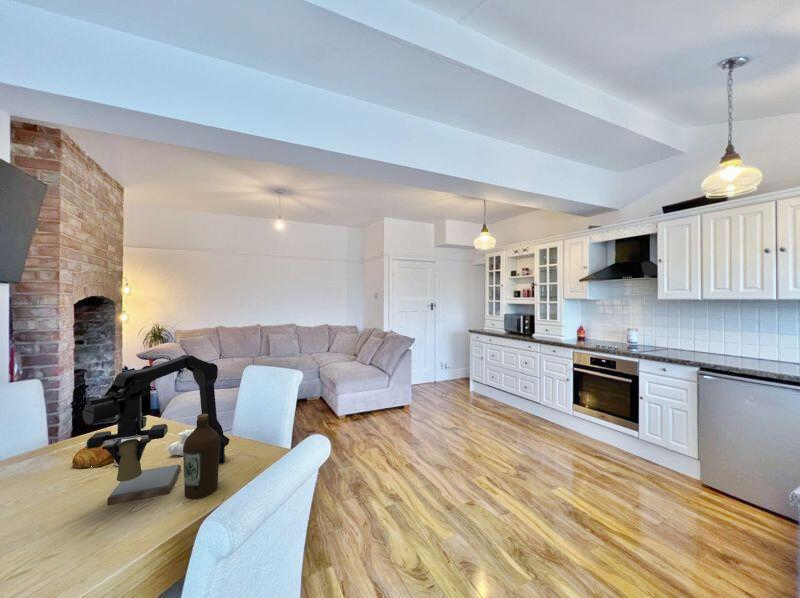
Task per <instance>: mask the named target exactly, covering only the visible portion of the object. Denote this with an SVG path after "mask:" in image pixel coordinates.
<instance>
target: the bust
mask: <svg viewBox="0 0 800 598" xmlns="http://www.w3.org/2000/svg"><path fill="white" fill-rule="evenodd" d="M195 429H196V428H194V429H189V428H188V429H184V430H183V431H182V432H178V434H177V435H178V436H180V437H181V440H179V441H175V442H173V443H171V444H170V445H169V446H168V449H167V451H168V453H169V455H171V456H182V457H183V446H184V443H185V440H186V439H187V437H188V436H189V435H190V434H191V433H192V432H193V431H194V430H195Z"/></svg>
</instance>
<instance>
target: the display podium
mask: <svg viewBox="0 0 800 598" xmlns="http://www.w3.org/2000/svg"><path fill="white" fill-rule="evenodd" d="M181 467H182V465H181V464H173V465H166V466H165V465H164V466H158V467H155V468H154V467H153V468H148V469H141V470H142V474H141V475H140V476H138V477H137V478H135V479H132V480H128V481H123V482H120V481H119V483H118V484H117V486H116V487H115V488H114V489H113V491H112V492H111V493H110V495H109V496H108V497H107V501H106V502H107V504H106V505H107V506H110V505H114V504H119V503H124V502H131V501H135V500H140V499H146V498H152V497H157V496H162V495H169V494H170V493H171V491H172V489H173V487H174V485H175V482H176V480H177V478H178V477H179V475H180V473H181V470H182V468H181Z"/></svg>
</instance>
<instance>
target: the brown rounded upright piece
mask: <svg viewBox="0 0 800 598" xmlns="http://www.w3.org/2000/svg"><path fill="white" fill-rule="evenodd" d="M139 441H140V440H139V439H138V438H137V439H130V440H126V441H124V442H122V443H121V444H120V445H119V448H118V450H119V452H120V453H121V456H120V463H119V466H118V470H117V473H116V474H117V476H116V481H117V482H119V483H120V482H123V481H128V480H132V479H135V478H137V477H138V476H140V475H141V474H142V470H143V469H142V466H141V461H140V462H138V460H137V451H138V442H139Z"/></svg>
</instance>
